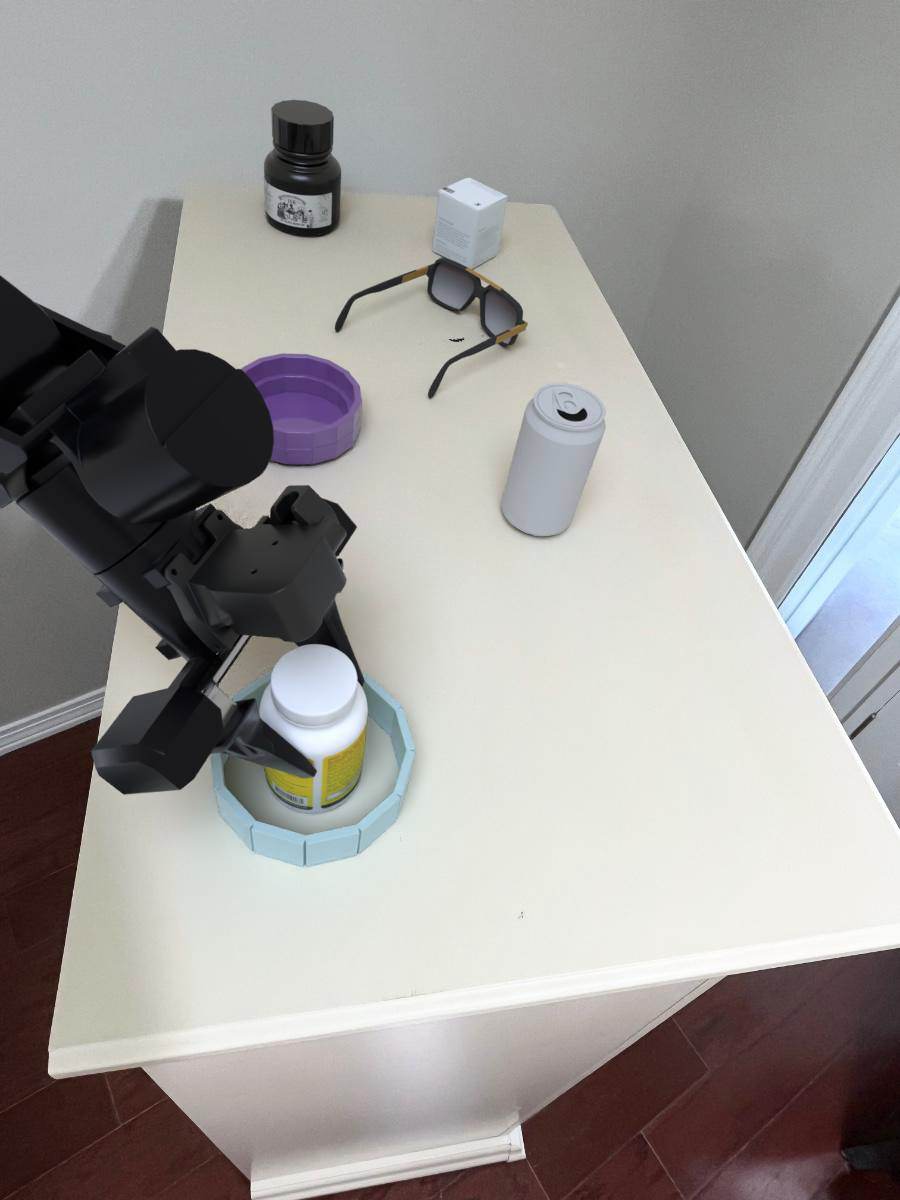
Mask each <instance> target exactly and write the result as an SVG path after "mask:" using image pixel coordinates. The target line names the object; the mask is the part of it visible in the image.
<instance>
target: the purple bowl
mask: <svg viewBox="0 0 900 1200" xmlns="http://www.w3.org/2000/svg"><path fill="white" fill-rule="evenodd" d="M240 369H241V370H243V371H244V372H245V373H246V374H247V376H248V377H249V378H250V379H251V380H252V381H253V383H254V384H255V386H256V387H257V389H258V390H259V392H260V393H261V395H262V396H263V399H264V401H265V403H266V405H267V407H268V410H269V413H270V416H271V420H272V424H273V433H274V445H273V452H272V457H271V459H270V461H272V462H276V463H280V464H284V465H297V466H305V465H316V464H319V463H322V462H325V461H326V462H327V461H331V460H333V459H335V458H338V457H340V456H341V455H342V454H343V453H346V451H348V450H349V449H350V448H352V447H353V445H354V443H355V442H356V440H357V438H358V436H359V434H360V431H361V419H362V403H363V399H362V392H361V391H362V390H361V386H360V384H359V383H358V381H357V380H356V379H355V377H354V376H353V375H352V373H350V371H348V369H346V368H344V367H342V366H341V365H338V364H337V363H335V362H334V361H332V360H330V359H326V358H323V357H319V356H317V355H316V356H315V355H311V354H308V353H286V352H285V353H284V352H283V353H277V354H272V355H267V356H263V357H259V358H257V359H255V360H254V361H252V362H250V363H248V364H246V365H245V366H243V367H241V368H240Z"/></svg>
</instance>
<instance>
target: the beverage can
mask: <svg viewBox="0 0 900 1200" xmlns="http://www.w3.org/2000/svg"><path fill="white" fill-rule="evenodd" d="M533 394H534V395H533V397H532V399H530V400H529V401H528V403H527V404H526V406H525V408H524V412H523V417H522V421H521V424H520V429H519V432H518V436H517V438H516V439H517V440H516V444H515V448H514V451H513V455H512V459H511V462H510V466H509V470H508V474H507V478H506V482H505V486H504V490H503V492H502V497H501V501H500V507H501V511H502V514H503V515H504V517H505V520H507V521H508V522H509V523H510V525H512V526H513V527H514V528H516V529H518V530H519V531H521V532H523V533H525V534H526V535H527V534H528V535H530V536H534V537H548V536H549V537H550V536H554V535H558V534H561V533H562V532H565V531H566V530H567V529H568V528H569V527H570V525H571V524H572V522H573V519H574V517H575V514H576V511H577V509H578V505H579V503H580V500H581V497H582V494H583V491H584V489H585V486H586V483H587V481H588V479H589V476H590V472H591V471H592V468H593V465H594V461H595V459H596V457H597V453H598V451H599V448H600V446H601V442H602V440H603V437H604V434H605V431H606V429H607V427H606V426H607V425H606V421H605V417H606V412H607V411H606V406H605V405H604V402H603V401H602V400H601V399H600V397H598V396H597V395H596V394H595V393H593V392H592V391H590V390H589V389H587V388H585V387H582V386H581V385H577V384H573V383H568V382H552V383H547V384H544V385H542V386H541V387H539V388H538V389H537V390H536V391H535V393H533Z"/></svg>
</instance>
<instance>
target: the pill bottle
mask: <svg viewBox="0 0 900 1200" xmlns="http://www.w3.org/2000/svg"><path fill="white" fill-rule="evenodd" d="M271 671H272V674H271V682H270V683H269V684H268V686H267V687H266V689H265V691H264V693H263V696H262V699H261V702H260V709H259V714H260V717H261V719H262V720H263V721H264V722H265V723H267V724H268V725H269V726H270V727H271V728H273V729H274V730H275V731H276V732H277V733H278V734H280V735H281V736H282V737H283V738H284V739H285V740H287V741H288V742H289V743H290V744H291V745H292V746H294V747H295V748H296V749H297V750H298V751H299V752H301V753H302V754H303V755H304V756H305V757H306V758H307V759H308V761H309V762H310V763H311V764H312V765H313V766H314V768H315V769H316V770H317V773H316V775H315V777H313V778H301V777H298V776H295V775H292V774H288V773H285V772H282V771H279V770H276V769H272V768H269V767H266V766H263V767H264V774H265V779H266V783H267V786H268V788H269V790H270V793H272V795H273V797H274V798H275V799H276V800H277V801H278V802H279V803H280V804H282V805H283V806H285V807H286V808H288V809H290V810H292V811H294V812H299V813H303V814H321V813H325V812H329V811H332V810H334V809H336V808H338V807H340V806H341V805H343V804H344V803H345V802H346V801H347V800H349V799H350V798H351V796H352V795H353V794H354V792H355V791H356V789H357V787H358V785H359V783H360V780H361V777H362V771H363V766H364V765H363V764H364V756H365V755H364V754H365V746H366V745H365V744H366V736H367V726H368V716H369V715H368V706H367V699H366V696H365V693H364V690H363V688H362V687H361V685H360V683H359V682H358V680H357V672H356V669H355V667H354V665H353V663H352V661H351V660H350V659H349V658H348V657H347V656H346V655H345V654H344V653H342V652H341V651H339V650H337V649H335V648H333V647H330V646H326V645H319V644H310V645H303V646H300V647H298V646H297V647H294V648H292V649H290V650H289V651H287V652H285V653H284V654H283V655H282V656H281V657H280V658H278V660H277V661H276V662H275V664H274V666H273V668H272V670H271Z"/></svg>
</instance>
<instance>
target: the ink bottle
mask: <svg viewBox="0 0 900 1200" xmlns="http://www.w3.org/2000/svg"><path fill="white" fill-rule="evenodd" d="M270 110H271V111H270V113H271V137H272V146H273V148H272V150H271V151H269V153H268V154H266V156H265V158H264V161H263V193H264V194H263V196H264V209H265V216H266V217H265V218H266V219H267V221H268V222H269V223H270V225H272V226H273V227H274V228H277V229H278V230H281V231H283V232H286V233H290V234H292V235H298V236H305V237H306V236H307V237H314V236H322V235H326V234H328V233H329V232H332V231H334V230H335V228H337V226H338V225H339V223H340V218H341V193H342V168H341V164H340V162H339V161H338V160H337V158H336V157H335V156H334V155H333V153H332V151H333V149H334V148H333V147H334V128H335V127H334V125H335V123H334V122H335V116H334V114H333V111H332V110H331V109H329V108H328V107H327V106H325V105H323V104H320V103H318V102H314V101H309V100H302V99H287V100H281V101H279V102H276V103H274V104H273V105H272V107H270Z"/></svg>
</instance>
